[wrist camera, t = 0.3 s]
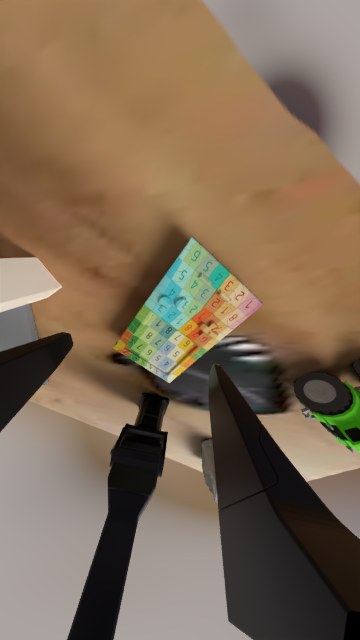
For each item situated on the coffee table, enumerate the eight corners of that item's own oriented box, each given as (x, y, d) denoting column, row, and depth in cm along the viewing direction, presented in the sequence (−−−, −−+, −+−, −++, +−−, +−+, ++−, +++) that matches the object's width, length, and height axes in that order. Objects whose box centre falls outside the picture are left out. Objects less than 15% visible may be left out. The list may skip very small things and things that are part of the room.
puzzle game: (266, 305, 17) (168, 387, 24) (251, 294, 21) (172, 367, 29) (192, 235, 14) (109, 351, 22) (192, 239, 18) (123, 335, 26)
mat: (48, 381, 34) (44, 385, 33) (-11, 366, 33) (-17, 369, 32) (26, 285, 23) (19, 287, 22) (-62, 260, 22) (-72, 261, 21)
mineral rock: (211, 462, 45) (216, 515, 36) (183, 451, 43) (180, 503, 34) (238, 447, 39) (252, 505, 30) (207, 434, 38) (211, 490, 29)
